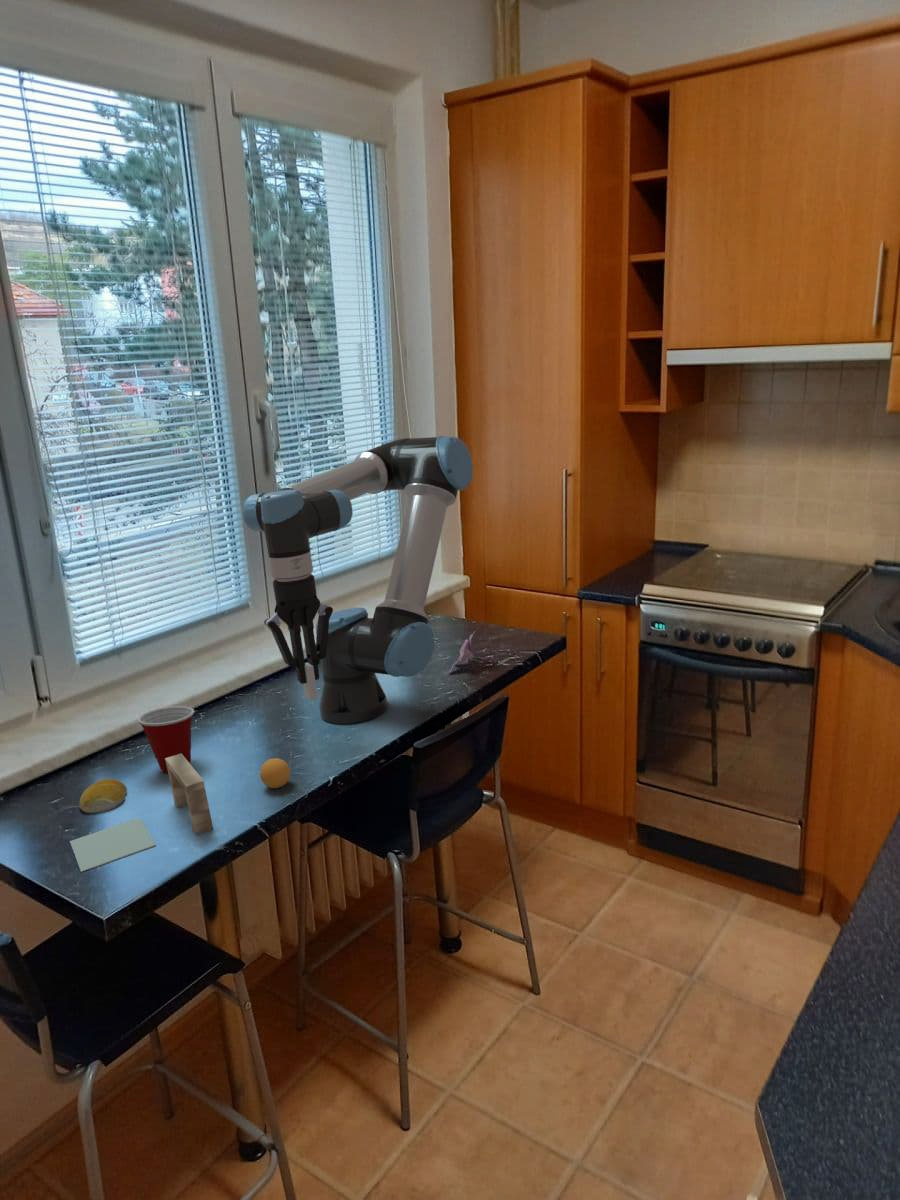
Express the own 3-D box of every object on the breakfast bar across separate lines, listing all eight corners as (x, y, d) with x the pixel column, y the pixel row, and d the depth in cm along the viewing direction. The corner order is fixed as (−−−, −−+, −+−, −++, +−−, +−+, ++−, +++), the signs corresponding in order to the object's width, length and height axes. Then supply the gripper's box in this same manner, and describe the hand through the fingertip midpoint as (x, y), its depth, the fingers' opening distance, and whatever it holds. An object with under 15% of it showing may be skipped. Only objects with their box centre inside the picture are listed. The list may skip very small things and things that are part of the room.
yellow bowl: (129, 787, 169) (125, 769, 168) (123, 809, 160) (119, 789, 159) (85, 796, 167) (81, 777, 166) (76, 818, 159) (72, 798, 158)
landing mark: (140, 818, 155) (140, 817, 155) (155, 845, 145) (155, 844, 145) (69, 842, 150) (69, 841, 150) (81, 872, 140) (80, 871, 140)
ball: (285, 776, 166) (281, 750, 164) (296, 786, 161) (292, 760, 159) (258, 786, 163) (253, 759, 161) (268, 796, 158) (263, 769, 157)
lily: (472, 660, 221) (451, 632, 219) (505, 649, 213) (483, 619, 211) (451, 690, 213) (428, 661, 211) (484, 679, 205) (461, 649, 203)
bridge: (190, 798, 161) (181, 753, 159) (213, 828, 149) (203, 780, 146) (174, 803, 160) (165, 758, 157) (196, 835, 147) (186, 786, 145)
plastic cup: (215, 759, 176) (205, 705, 173) (175, 783, 168) (163, 727, 164) (178, 752, 182) (168, 699, 179) (137, 775, 173) (125, 720, 170)
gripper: (265, 587, 150) (286, 712, 156) (334, 572, 156) (351, 693, 162) (251, 580, 156) (271, 701, 162) (318, 566, 162) (334, 683, 169)
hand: (311, 697), depth 162 cm, fingers closed
